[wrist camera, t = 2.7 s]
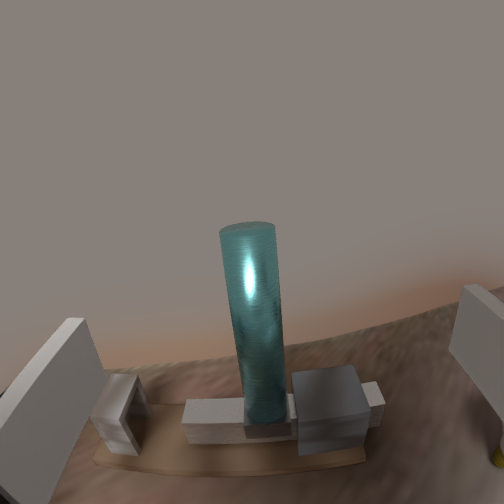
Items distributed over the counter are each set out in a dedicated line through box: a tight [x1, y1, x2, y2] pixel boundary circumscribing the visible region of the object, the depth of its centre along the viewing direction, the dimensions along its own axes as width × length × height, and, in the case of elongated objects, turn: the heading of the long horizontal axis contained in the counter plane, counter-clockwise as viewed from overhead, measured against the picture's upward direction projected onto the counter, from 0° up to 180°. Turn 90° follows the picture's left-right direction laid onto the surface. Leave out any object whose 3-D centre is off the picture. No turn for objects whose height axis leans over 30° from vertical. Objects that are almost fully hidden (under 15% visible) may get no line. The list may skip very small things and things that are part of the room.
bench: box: [89, 364, 371, 477], centre depth 27 cm, size 26×9×7 cm, turn 90°
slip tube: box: [181, 222, 386, 444], centre depth 24 cm, size 18×4×19 cm, turn 90°
